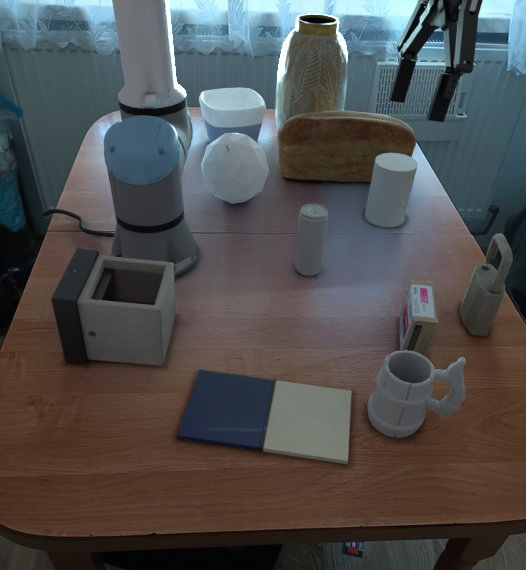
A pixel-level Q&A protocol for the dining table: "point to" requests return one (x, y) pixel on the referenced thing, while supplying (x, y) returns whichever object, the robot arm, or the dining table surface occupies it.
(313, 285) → the dining table surface
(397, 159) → the white cylinder
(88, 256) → the grey open box
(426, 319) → the ink box
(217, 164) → the geodesic sphere
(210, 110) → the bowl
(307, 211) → the beverage can
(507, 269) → the padlock
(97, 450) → the dining table surface
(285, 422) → the board
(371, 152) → the bread
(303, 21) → the vase
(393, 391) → the mug
